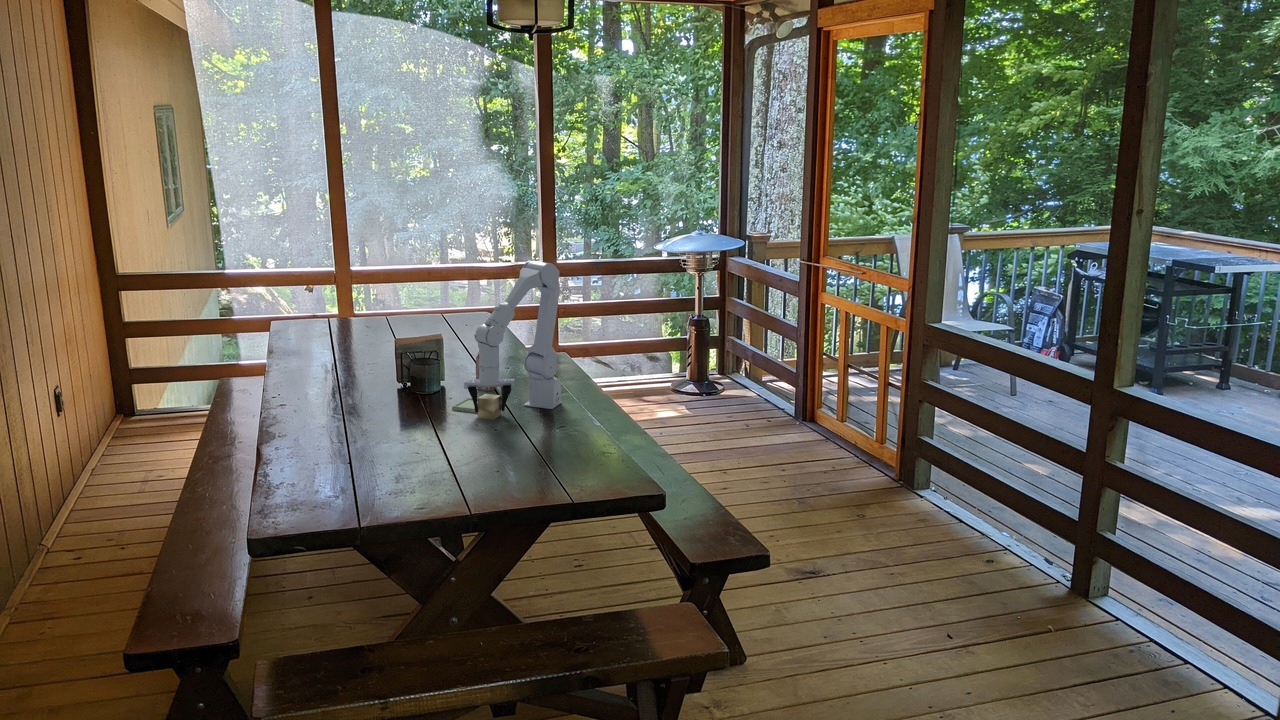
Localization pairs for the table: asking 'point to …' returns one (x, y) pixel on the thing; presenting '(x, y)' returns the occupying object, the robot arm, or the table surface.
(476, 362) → the soda can
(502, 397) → the robot arm
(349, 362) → the table surface
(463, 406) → the tray
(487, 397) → the maple block
